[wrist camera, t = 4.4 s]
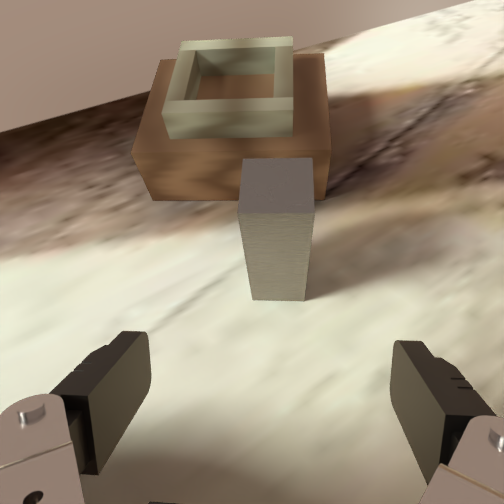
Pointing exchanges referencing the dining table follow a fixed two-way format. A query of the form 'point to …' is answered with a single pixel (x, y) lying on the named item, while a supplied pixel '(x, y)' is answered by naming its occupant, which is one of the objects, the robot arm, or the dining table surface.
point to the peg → (277, 225)
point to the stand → (231, 117)
